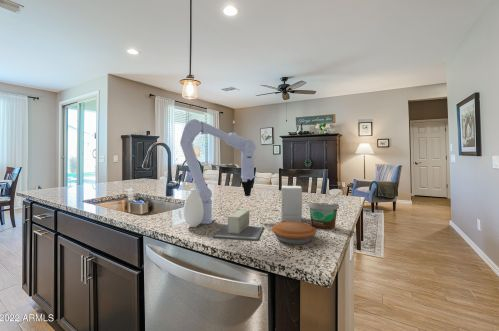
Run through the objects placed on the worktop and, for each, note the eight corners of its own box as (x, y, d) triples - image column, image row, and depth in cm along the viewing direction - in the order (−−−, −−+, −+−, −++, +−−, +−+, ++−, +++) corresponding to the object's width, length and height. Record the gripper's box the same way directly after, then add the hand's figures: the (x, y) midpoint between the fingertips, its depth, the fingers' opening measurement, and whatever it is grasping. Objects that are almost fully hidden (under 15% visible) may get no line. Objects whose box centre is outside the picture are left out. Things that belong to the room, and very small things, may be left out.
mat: (212, 237, 85) (212, 236, 85) (224, 225, 99) (224, 224, 99) (257, 240, 82) (257, 238, 82) (263, 227, 96) (263, 226, 96)
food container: (304, 227, 97) (304, 202, 96) (308, 223, 102) (308, 200, 102) (336, 232, 91) (336, 205, 91) (338, 227, 96) (339, 203, 96)
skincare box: (239, 209, 100) (227, 216, 88) (249, 210, 98) (238, 216, 87) (239, 224, 100) (227, 233, 88) (250, 225, 98) (238, 234, 87)
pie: (285, 229, 95) (285, 216, 95) (323, 237, 85) (324, 223, 85) (262, 239, 83) (262, 225, 83) (303, 251, 73) (304, 234, 73)
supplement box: (302, 222, 104) (302, 188, 104) (281, 221, 106) (281, 187, 105) (300, 217, 113) (301, 185, 113) (281, 216, 115) (281, 185, 114)
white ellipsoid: (198, 230, 93) (198, 183, 93) (180, 228, 95) (179, 183, 94) (206, 224, 101) (206, 181, 100) (189, 223, 103) (188, 181, 102)
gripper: (253, 167, 103) (253, 198, 103) (258, 165, 117) (258, 193, 117) (237, 167, 104) (237, 198, 104) (244, 165, 118) (244, 193, 119)
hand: (247, 195), depth 111 cm, fingers closed
